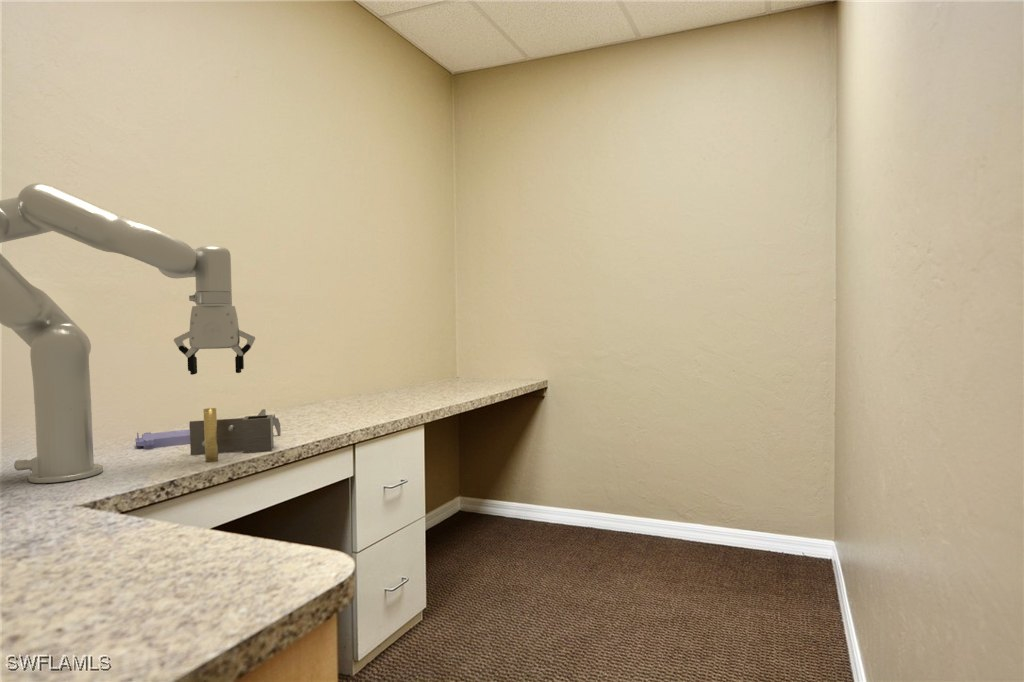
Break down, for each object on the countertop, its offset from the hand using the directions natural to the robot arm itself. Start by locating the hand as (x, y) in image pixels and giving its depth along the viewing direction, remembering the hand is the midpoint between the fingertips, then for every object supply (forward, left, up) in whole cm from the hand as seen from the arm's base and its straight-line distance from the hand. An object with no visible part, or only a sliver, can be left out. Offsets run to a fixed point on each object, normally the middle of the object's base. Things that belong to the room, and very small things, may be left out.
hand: (216, 373), depth 142 cm
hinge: (+2, +12, -20) cm, 23 cm away
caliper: (+2, +22, -20) cm, 30 cm away
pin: (-1, -4, -20) cm, 20 cm away
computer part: (-9, +28, -20) cm, 36 cm away
